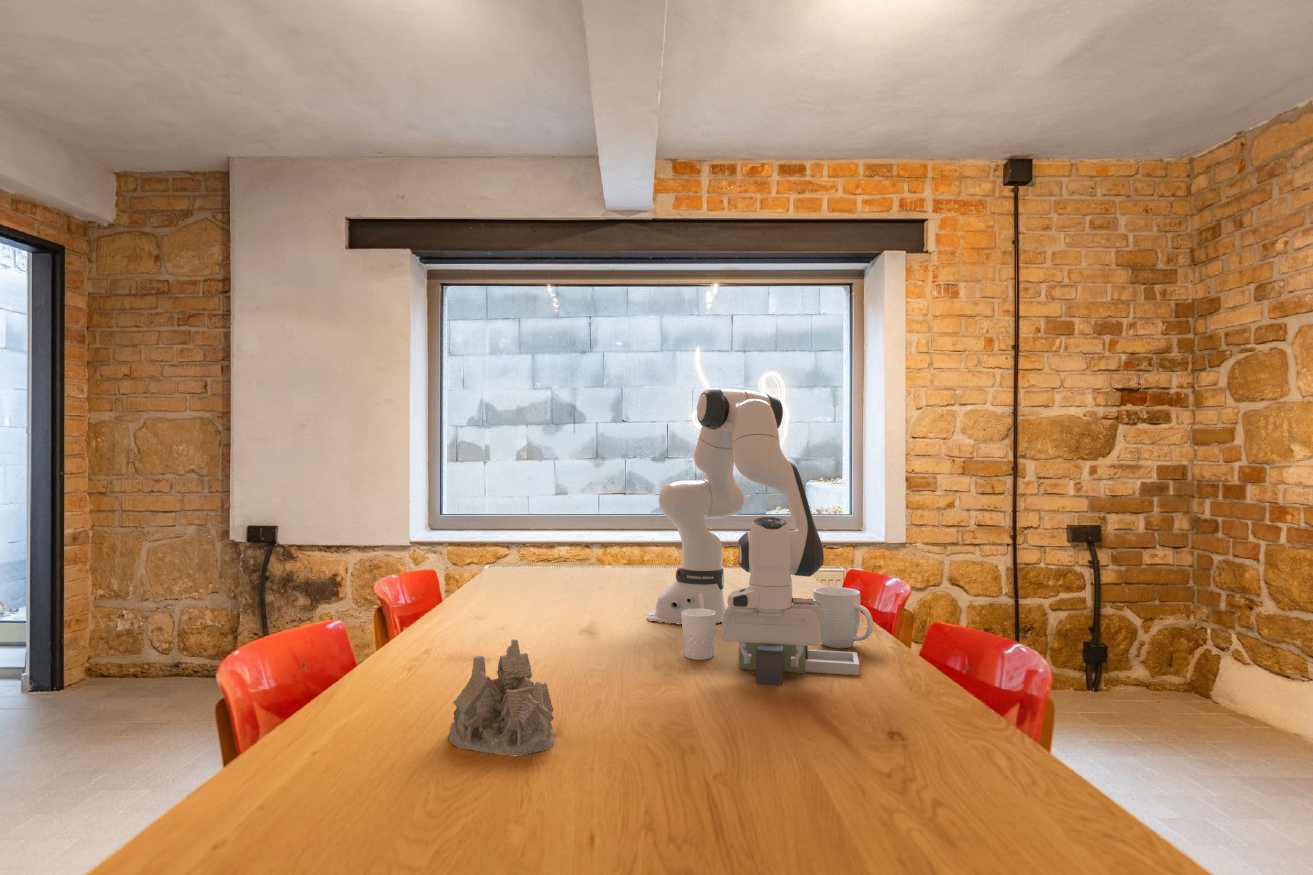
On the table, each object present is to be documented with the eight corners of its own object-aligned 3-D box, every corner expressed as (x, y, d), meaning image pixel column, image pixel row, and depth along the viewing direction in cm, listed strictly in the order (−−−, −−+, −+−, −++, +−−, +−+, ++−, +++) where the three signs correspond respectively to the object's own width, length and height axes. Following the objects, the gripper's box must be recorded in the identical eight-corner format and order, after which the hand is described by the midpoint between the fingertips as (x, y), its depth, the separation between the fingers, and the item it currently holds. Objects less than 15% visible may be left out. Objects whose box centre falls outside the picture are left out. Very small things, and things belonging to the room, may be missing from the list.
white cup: (716, 651, 162) (716, 608, 162) (715, 661, 154) (715, 616, 154) (682, 650, 163) (682, 607, 163) (680, 660, 155) (680, 615, 155)
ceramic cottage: (445, 727, 116) (450, 638, 116) (541, 717, 122) (546, 633, 122) (453, 772, 102) (459, 671, 102) (562, 759, 108) (568, 663, 108)
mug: (884, 648, 164) (883, 593, 165) (860, 657, 157) (859, 599, 157) (829, 636, 175) (829, 584, 176) (804, 644, 168) (804, 590, 168)
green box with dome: (738, 668, 149) (738, 621, 149) (744, 654, 159) (743, 610, 160) (859, 676, 143) (859, 628, 143) (856, 661, 154) (856, 616, 154)
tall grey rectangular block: (756, 684, 139) (756, 653, 139) (759, 672, 147) (759, 643, 147) (781, 685, 138) (781, 655, 138) (783, 673, 146) (783, 644, 146)
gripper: (822, 596, 143) (823, 663, 143) (724, 592, 148) (724, 657, 148) (822, 602, 137) (823, 672, 137) (720, 598, 142) (720, 666, 141)
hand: (771, 664), depth 142 cm, fingers open, 8 cm apart
